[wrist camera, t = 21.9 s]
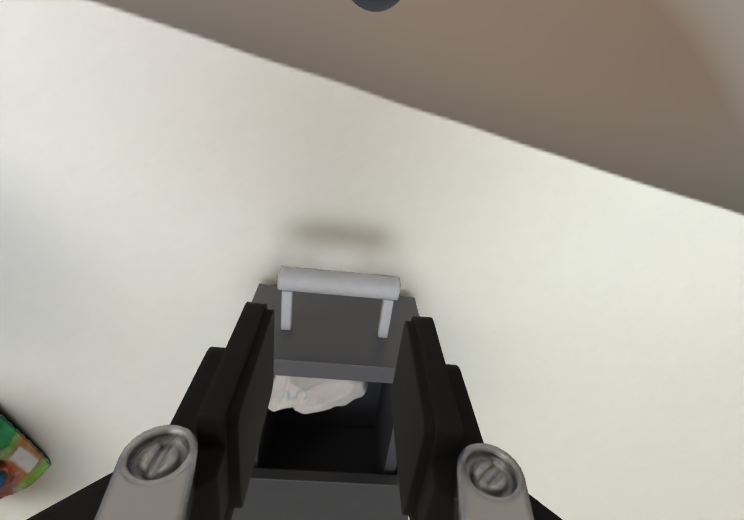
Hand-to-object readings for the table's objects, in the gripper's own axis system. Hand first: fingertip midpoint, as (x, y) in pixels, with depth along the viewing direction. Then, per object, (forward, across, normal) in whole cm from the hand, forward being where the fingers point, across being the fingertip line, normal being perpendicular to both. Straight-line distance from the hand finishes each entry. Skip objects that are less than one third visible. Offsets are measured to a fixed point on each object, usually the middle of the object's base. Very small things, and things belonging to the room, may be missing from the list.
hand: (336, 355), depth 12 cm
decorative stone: (+14, +1, +12) cm, 19 cm away
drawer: (+16, 0, +13) cm, 21 cm away
